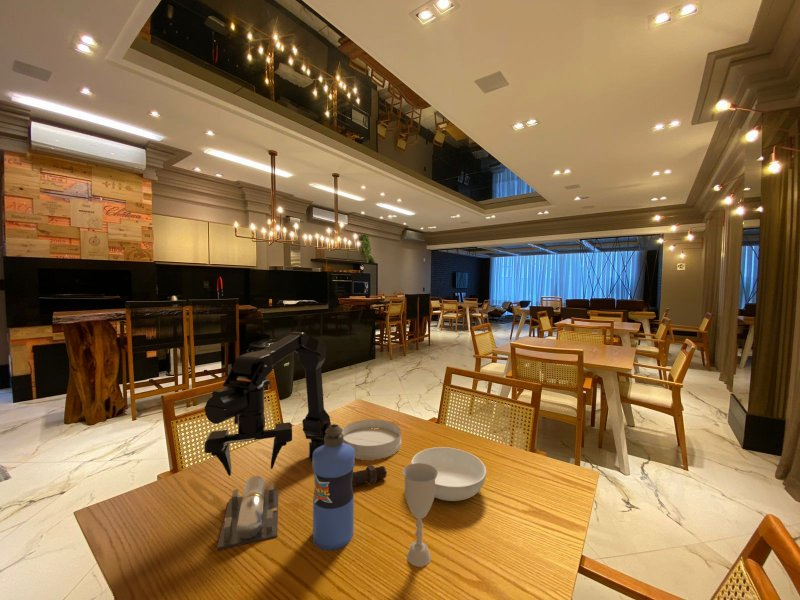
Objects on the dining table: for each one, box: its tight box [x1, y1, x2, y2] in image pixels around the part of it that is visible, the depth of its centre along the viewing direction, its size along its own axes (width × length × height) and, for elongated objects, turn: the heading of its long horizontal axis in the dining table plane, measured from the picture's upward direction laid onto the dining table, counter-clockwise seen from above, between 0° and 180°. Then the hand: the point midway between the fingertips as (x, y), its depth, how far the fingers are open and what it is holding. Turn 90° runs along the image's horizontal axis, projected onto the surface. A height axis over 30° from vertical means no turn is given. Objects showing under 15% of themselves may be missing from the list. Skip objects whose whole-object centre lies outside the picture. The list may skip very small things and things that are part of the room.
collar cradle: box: [216, 482, 279, 551], centre depth 78 cm, size 12×17×4 cm
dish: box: [341, 419, 402, 461], centre depth 116 cm, size 22×22×5 cm
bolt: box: [352, 464, 388, 486], centre depth 92 cm, size 6×5×15 cm
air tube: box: [236, 475, 266, 539], centre depth 78 cm, size 5×16×5 cm, turn 20°
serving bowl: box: [410, 446, 487, 502], centre depth 91 cm, size 21×21×7 cm
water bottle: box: [311, 423, 356, 551], centre depth 73 cm, size 9×9×25 cm
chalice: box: [402, 463, 438, 568], centre depth 67 cm, size 7×7×18 cm
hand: (251, 471), depth 78 cm, fingers open, 9 cm apart
